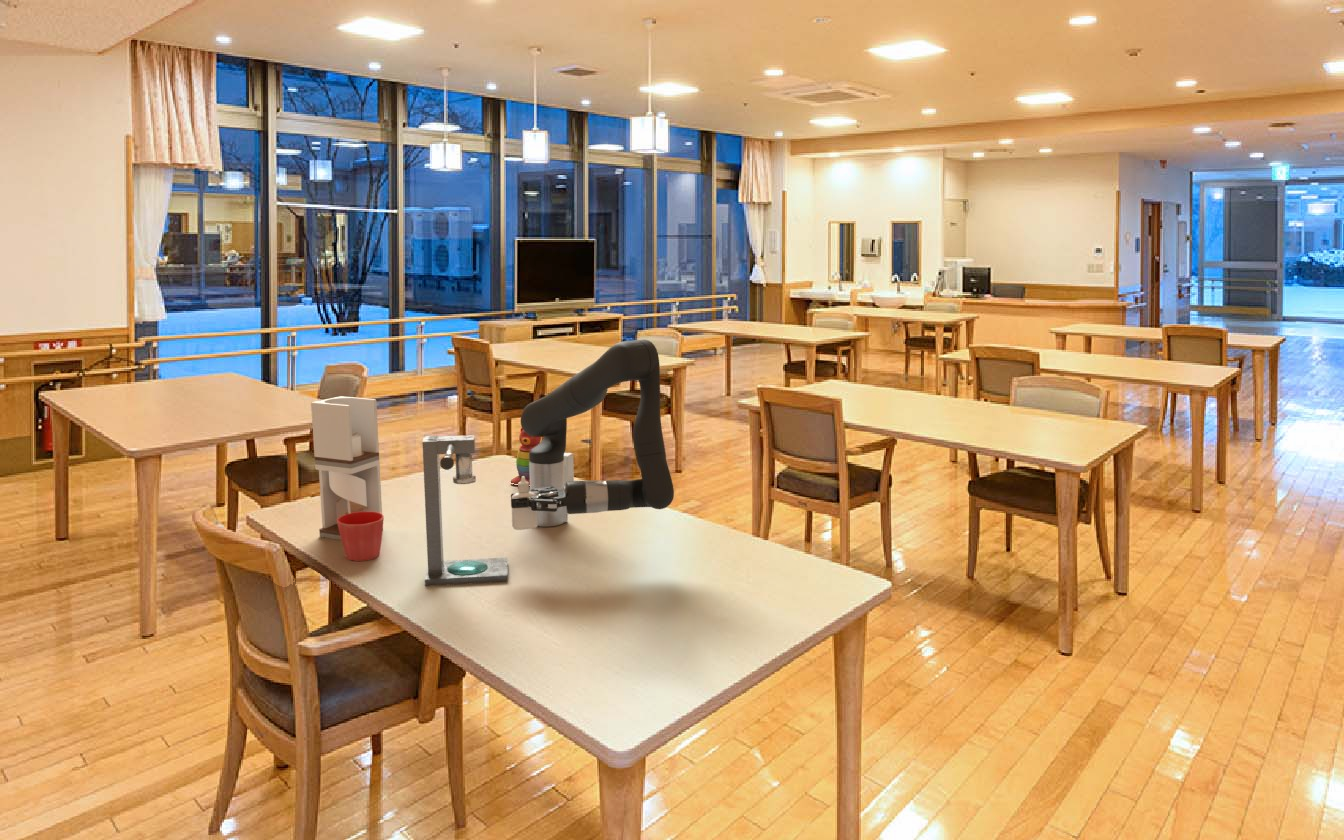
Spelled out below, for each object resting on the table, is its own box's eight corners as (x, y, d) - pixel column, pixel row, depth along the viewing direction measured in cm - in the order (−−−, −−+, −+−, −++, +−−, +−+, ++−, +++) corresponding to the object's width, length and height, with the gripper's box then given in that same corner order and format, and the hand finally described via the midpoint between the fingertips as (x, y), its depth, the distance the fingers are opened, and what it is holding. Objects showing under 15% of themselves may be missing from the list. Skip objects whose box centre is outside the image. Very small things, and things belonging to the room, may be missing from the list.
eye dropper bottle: (516, 524, 218) (514, 474, 216) (539, 525, 218) (537, 474, 215) (510, 529, 214) (508, 478, 212) (534, 530, 213) (532, 479, 211)
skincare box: (574, 491, 287) (574, 453, 285) (568, 494, 283) (567, 456, 281) (556, 489, 289) (555, 451, 287) (550, 493, 285) (549, 454, 283)
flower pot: (343, 566, 221) (340, 526, 219) (336, 552, 230) (333, 514, 228) (389, 559, 225) (387, 520, 224) (380, 546, 235) (378, 508, 233)
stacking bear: (507, 485, 294) (506, 429, 290) (523, 477, 303) (522, 423, 300) (538, 488, 290) (537, 432, 287) (553, 480, 299) (553, 426, 296)
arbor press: (507, 563, 223) (504, 431, 217) (507, 603, 199) (503, 455, 193) (429, 567, 220) (423, 433, 214) (420, 608, 196) (413, 458, 190)
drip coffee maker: (319, 536, 242) (310, 402, 235) (348, 525, 252) (340, 396, 245) (355, 542, 238) (347, 405, 231) (383, 530, 247) (376, 399, 241)
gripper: (583, 473, 223) (510, 477, 220) (589, 488, 210) (510, 492, 207) (584, 504, 225) (511, 508, 222) (589, 521, 211) (511, 525, 208)
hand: (511, 500), depth 214 cm, fingers closed on eye dropper bottle, 3 cm apart
